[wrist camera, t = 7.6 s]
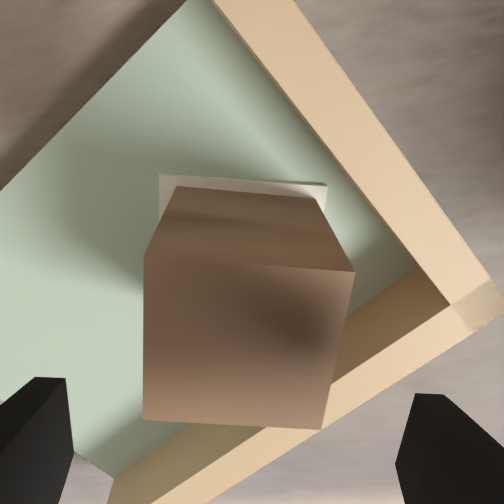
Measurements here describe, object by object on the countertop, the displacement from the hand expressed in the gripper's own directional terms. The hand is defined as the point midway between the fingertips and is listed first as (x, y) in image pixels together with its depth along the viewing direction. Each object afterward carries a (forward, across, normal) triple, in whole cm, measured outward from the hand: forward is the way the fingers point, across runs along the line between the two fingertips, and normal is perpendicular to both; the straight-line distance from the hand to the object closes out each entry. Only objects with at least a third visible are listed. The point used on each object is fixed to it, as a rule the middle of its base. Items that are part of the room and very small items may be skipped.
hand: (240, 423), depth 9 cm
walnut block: (+8, 0, 0) cm, 8 cm away
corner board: (+10, +2, +2) cm, 10 cm away
